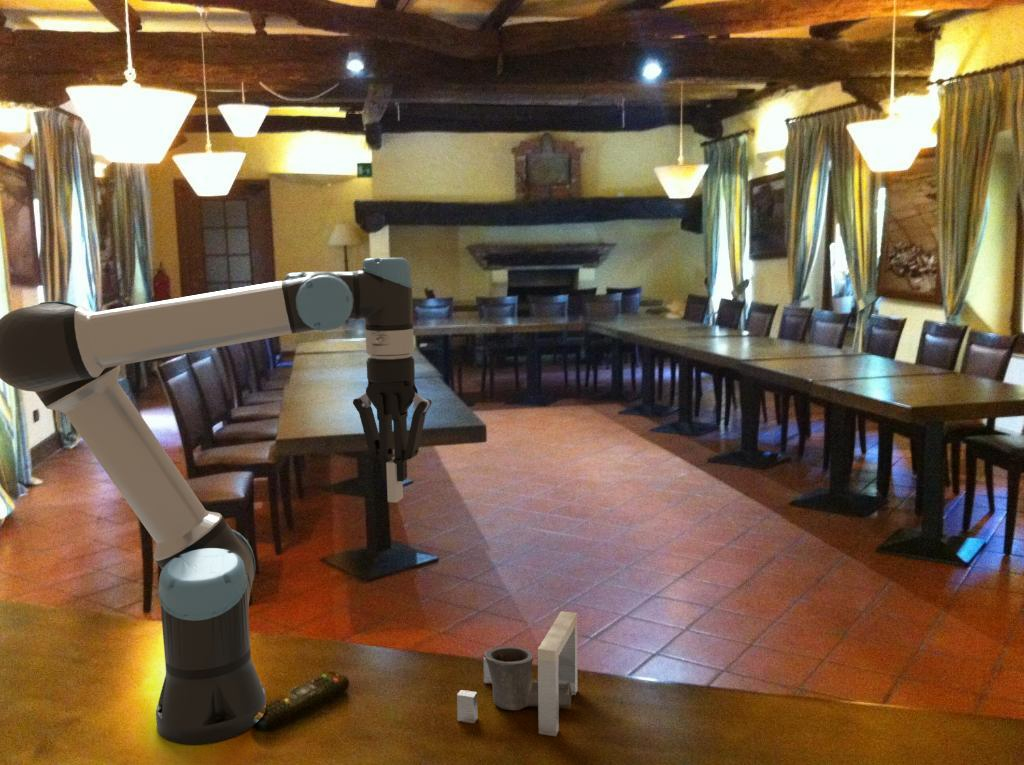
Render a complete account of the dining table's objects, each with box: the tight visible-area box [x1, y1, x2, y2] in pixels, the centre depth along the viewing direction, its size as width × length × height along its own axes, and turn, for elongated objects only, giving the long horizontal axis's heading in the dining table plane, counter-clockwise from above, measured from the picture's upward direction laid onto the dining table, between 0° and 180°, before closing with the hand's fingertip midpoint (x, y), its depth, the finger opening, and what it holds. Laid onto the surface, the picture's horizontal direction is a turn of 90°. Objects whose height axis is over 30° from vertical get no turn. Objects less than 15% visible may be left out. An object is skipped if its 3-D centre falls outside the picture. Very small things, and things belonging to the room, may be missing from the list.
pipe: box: [483, 645, 572, 711], centre depth 129 cm, size 6×13×8 cm, turn 81°
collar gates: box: [456, 610, 578, 737], centre depth 129 cm, size 14×13×12 cm
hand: (395, 499), depth 143 cm, fingers closed
